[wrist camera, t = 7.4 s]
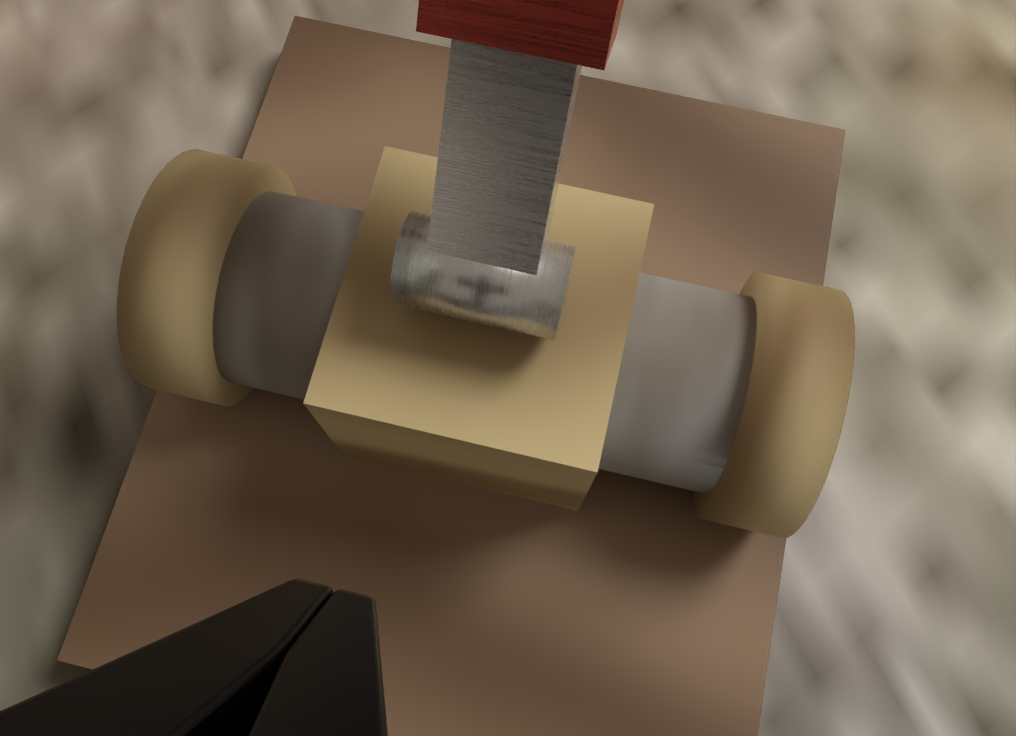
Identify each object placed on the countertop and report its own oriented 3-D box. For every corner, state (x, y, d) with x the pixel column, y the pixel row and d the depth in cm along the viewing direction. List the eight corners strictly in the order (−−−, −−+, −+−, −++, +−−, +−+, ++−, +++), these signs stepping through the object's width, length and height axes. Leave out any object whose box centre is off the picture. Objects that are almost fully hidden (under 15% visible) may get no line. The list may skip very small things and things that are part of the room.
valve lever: (548, 367, 15) (714, -410, 10) (381, 328, 15) (453, -453, 10) (564, 304, 17) (712, -377, 11) (416, 271, 17) (492, -416, 12)
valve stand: (728, 826, 19) (819, 892, 14) (82, 660, 20) (-75, 659, 14) (828, 155, 24) (926, 4, 18) (304, 46, 25) (248, -129, 19)
